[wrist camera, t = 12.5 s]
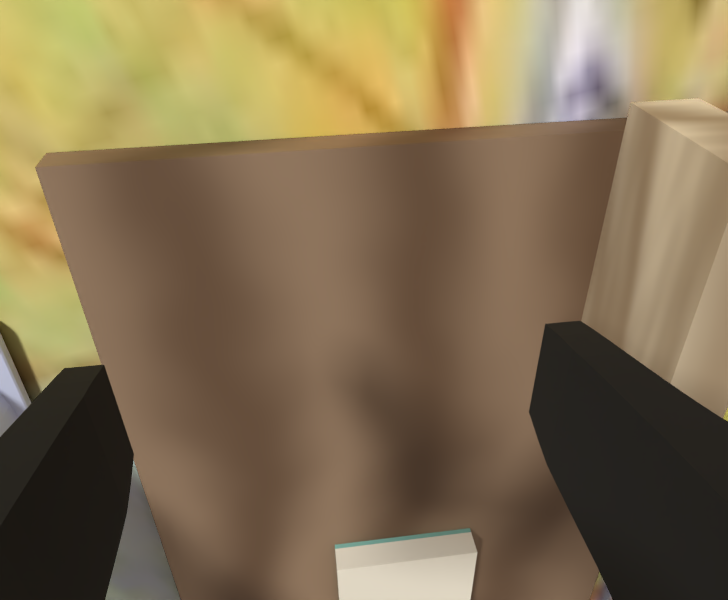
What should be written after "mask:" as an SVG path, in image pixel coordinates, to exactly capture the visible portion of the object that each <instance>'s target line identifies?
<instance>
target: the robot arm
mask: <svg viewBox="0 0 728 600" xmlns="http://www.w3.org/2000/svg"><path fill="white" fill-rule="evenodd" d="M529 414H530V417H531V420H532V423H533V426H534V429H535V432H536V435H537V438H538V441H539V444H540V447H541V450H542V453H543V455H544V458H545V461H546V464H547V466H548V468H549V470H550V472H551V475H552V477H553V479H554V481H555V483H556V485H557V487H558V489H559V491H560V493H561V495H562V497H563V499H564V501H565V503H566V505H567V507H568V509H569V511H570V513H571V515H572V517H573V519H574V521H575V523H576V525H577V527H578V529H579V531H580V533H581V535H582V537H583V539H584V541H585V543H586V545H587V547H588V549H589V551H590V553H591V555H592V557H593V559H594V561H595V563H596V565H597V567H598V569H599V571H600V573H601V575H602V577H603V579H604V581H605V583H606V585H607V588H608V590H609V592H610V594H611V597H612V599H613V600H728V421H726V420H724V419H723V418H721V417H720V416H718V415H716V414H715V413H713V412H712V411H710V410H709V409H707V408H706V407H704V406H703V405H701V404H700V403H698V402H697V401H695V400H694V399H692V398H691V397H689V396H688V395H686V394H685V393H683V392H682V391H680V390H679V389H677V388H676V387H675V386H673V385H672V384H670V383H669V382H667V381H666V380H664V379H663V378H662V377H660V376H659V375H657V374H656V373H654V372H653V371H652V370H650V369H649V368H647V367H646V366H645V365H643V364H642V363H640V362H639V361H638V360H636V359H635V358H633V357H632V356H631V355H629V354H628V353H626V352H625V351H624V350H622V349H621V348H619V347H618V346H617V345H615V344H614V343H612V342H611V341H610V340H608V339H607V338H605V337H604V336H602V335H601V334H600V333H598V332H597V331H595V330H594V329H592V328H591V327H589V326H588V325H586V324H585V323H583V322H582V321H570V322H559V323H548V324H545V328H544V333H543V338H542V344H541V349H540V354H539V360H538V365H537V371H536V376H535V381H534V387H533V392H532V397H531V403H530V408H529ZM133 458H134V453H133V450H132V447H131V444H130V441H129V438H128V435H127V432H126V429H125V426H124V423H123V420H122V417H121V414H120V411H119V408H118V405H117V402H116V399H115V396H114V393H113V390H112V387H111V384H110V381H109V378H108V375H107V372H106V369H105V366H104V365H96V366H85V367H74V368H64V369H63V370H62V371H61V372H60V373H59V374H58V375H57V376H56V377H55V378H54V379H53V381H52V382H51V383H50V384H49V385H48V386H47V387H46V388H45V389H44V390H43V391H42V392H41V393H40V395H39V396H38V397H37V398H36V399H35V400H34V401H33V402H32V403H31V401H30V399H29V397H28V394H27V392H26V390H25V388H24V385H23V383H22V381H21V378H20V376H19V374H18V372H17V369H16V367H15V365H14V363H13V360H12V358H11V356H10V354H9V351H8V349H7V347H6V345H5V342H4V340H3V338H2V336H1V333H0V600H105V597H106V593H107V590H108V586H109V582H110V578H111V574H112V570H113V566H114V563H115V559H116V555H117V551H118V547H119V543H120V539H121V535H122V531H123V527H124V522H125V518H126V514H127V508H128V500H129V493H130V485H131V476H132V467H133Z"/></svg>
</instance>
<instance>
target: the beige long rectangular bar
mask: <svg viewBox="0 0 728 600" xmlns="http://www.w3.org/2000/svg"><path fill="white" fill-rule="evenodd" d="M581 321H582V322H583V323H585V324H586V325H588V326H589V327H591V328H592V329H594V330H595V331H597V332H598V333H600V334H601V335H602V336H604V337H605V338H607V339H608V340H610V341H611V342H612V343H614V344H615V345H617V346H618V347H619V348H621V349H622V350H624V351H625V352H626V353H628V354H629V355H631V356H632V357H633V358H635V359H636V360H638V361H639V362H640V363H642V364H643V365H645V366H646V367H647V368H649V369H650V370H652V371H653V372H654V373H656V374H657V375H659V376H660V377H662V378H663V379H664V380H666V381H667V382H669V383H670V384H672V385H673V386H675V387H676V388H677V389H679V390H680V391H682V392H683V393H685V394H686V395H688V396H689V397H691V398H692V399H694V400H695V401H697V402H698V403H700V404H701V405H703V406H704V407H706V408H707V409H709V410H710V411H712V412H713V413H715V414H716V415H718V416H720V417H721V418H723V417H724V415H725V412H726V410H727V408H728V113H726V112H724V111H722V110H721V109H719V108H717V107H715V106H713V105H711V104H709V103H707V102H705V101H703V100H701V99H699V98H695V99H678V100H661V101H644V102H631V103H630V108H629V112H628V117H627V121H626V126H625V130H624V134H623V139H622V143H621V148H620V152H619V156H618V161H617V165H616V170H615V174H614V179H613V183H612V187H611V192H610V196H609V201H608V205H607V209H606V214H605V218H604V223H603V227H602V232H601V236H600V240H599V245H598V249H597V254H596V258H595V262H594V267H593V271H592V276H591V280H590V285H589V289H588V293H587V298H586V302H585V307H584V311H583V315H582V320H581Z"/></svg>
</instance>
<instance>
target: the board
mask: <svg viewBox="0 0 728 600" xmlns="http://www.w3.org/2000/svg"><path fill="white" fill-rule="evenodd" d="M726 113H728V112H726ZM626 121H627V118H616V119H599V120H583V121H567V122H550V123H534V124H517V125H501V126H484V127H468V128H451V129H435V130H419V131H402V132H386V133H369V134H353V135H336V136H320V137H304V138H287V139H271V140H254V141H238V142H221V143H205V144H189V145H172V146H156V147H139V148H123V149H106V150H90V151H74V152H57V153H46V154H45V156H44V157H43V158H42V159H41V161H40V162H39V163H38V164H37V166H36V167H35V168H36V171H37V174H38V177H39V180H40V183H41V186H42V189H43V192H44V195H45V198H46V201H47V204H48V207H49V210H50V213H51V216H52V219H53V222H54V225H55V228H56V231H57V234H58V236H59V239H60V242H61V245H62V248H63V251H64V254H65V257H66V260H67V263H68V266H69V269H70V272H71V275H72V278H73V281H74V284H75V287H76V290H77V293H78V296H79V299H80V302H81V305H82V308H83V311H84V314H85V317H86V320H87V323H88V325H89V328H90V331H91V334H92V337H93V340H94V343H95V346H96V349H97V352H98V355H99V358H100V361H101V364H102V365H104V366H105V369H106V372H107V375H108V378H109V381H110V384H111V387H112V390H113V393H114V396H115V399H116V402H117V405H118V408H119V411H120V414H121V417H122V420H123V423H124V426H125V429H126V432H127V435H128V438H129V441H130V444H131V447H132V450H133V453H134V458H133V459H134V462H135V465H136V468H137V471H138V474H139V477H140V480H141V483H142V486H143V489H144V492H145V495H146V497H147V500H148V503H149V506H150V509H151V512H152V515H153V518H154V521H155V524H156V527H157V530H158V533H159V536H160V539H161V542H162V545H163V548H164V551H165V554H166V557H167V560H168V563H169V566H170V569H171V572H172V575H173V578H174V581H175V583H176V586H177V589H178V592H179V595H180V598H181V600H339V598H338V584H337V570H336V557H335V545H337V544H345V543H353V542H361V541H370V540H378V539H386V538H394V537H402V536H410V535H418V534H426V533H434V532H442V531H450V530H458V529H466V528H470V530H471V533H472V536H473V540H474V543H475V546H476V549H477V559H476V565H475V572H474V579H473V586H472V593H471V599H470V600H590V597H591V594H592V591H593V588H594V585H595V582H596V579H597V577H598V574H599V569H598V567H597V565H596V563H595V561H594V559H593V557H592V555H591V553H590V551H589V549H588V547H587V545H586V543H585V541H584V539H583V537H582V535H581V533H580V531H579V529H578V527H577V525H576V523H575V521H574V519H573V517H572V515H571V513H570V511H569V509H568V507H567V505H566V503H565V501H564V499H563V497H562V495H561V493H560V491H559V489H558V487H557V485H556V483H555V481H554V479H553V477H552V475H551V472H550V470H549V468H548V466H547V464H546V461H545V458H544V455H543V453H542V450H541V447H540V444H539V441H538V438H537V435H536V432H535V429H534V426H533V423H532V420H531V417H530V414H529V408H530V403H531V397H532V392H533V387H534V381H535V376H536V371H537V365H538V360H539V354H540V349H541V344H542V338H543V333H544V328H545V324H548V323H559V322H570V321H581V320H582V315H583V311H584V307H585V302H586V298H587V293H588V289H589V285H590V280H591V276H592V271H593V267H594V262H595V258H596V254H597V249H598V245H599V240H600V236H601V232H602V227H603V223H604V218H605V214H606V209H607V205H608V201H609V196H610V192H611V187H612V183H613V179H614V174H615V170H616V165H617V161H618V156H619V152H620V148H621V143H622V139H623V134H624V130H625V126H626Z"/></svg>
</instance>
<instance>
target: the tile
mask: <svg viewBox="0 0 728 600" xmlns="http://www.w3.org/2000/svg"><path fill="white" fill-rule="evenodd" d="M335 557H336V570H337V584H338V598H339V600H470V599H471V593H472V586H473V579H474V572H475V565H476V559H477V549H476V546H475V543H474V540H473V536H472V533H471V530H470V528H466V529H458V530H450V531H442V532H434V533H426V534H418V535H410V536H402V537H394V538H386V539H378V540H370V541H361V542H353V543H345V544H337V545H335Z"/></svg>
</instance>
